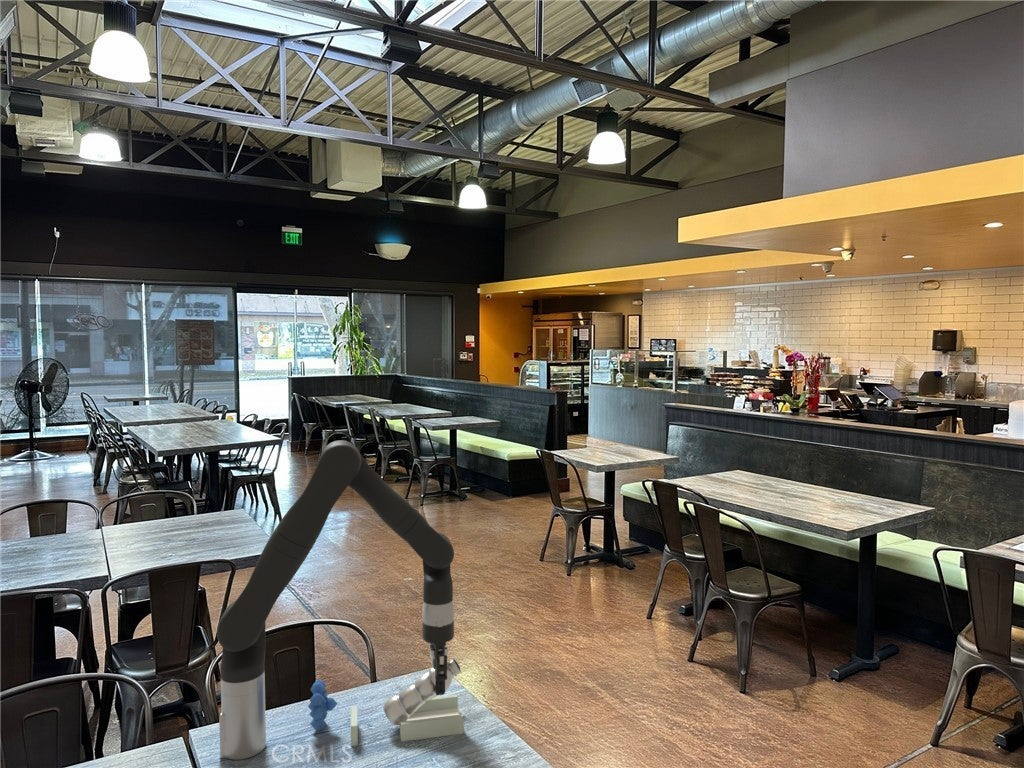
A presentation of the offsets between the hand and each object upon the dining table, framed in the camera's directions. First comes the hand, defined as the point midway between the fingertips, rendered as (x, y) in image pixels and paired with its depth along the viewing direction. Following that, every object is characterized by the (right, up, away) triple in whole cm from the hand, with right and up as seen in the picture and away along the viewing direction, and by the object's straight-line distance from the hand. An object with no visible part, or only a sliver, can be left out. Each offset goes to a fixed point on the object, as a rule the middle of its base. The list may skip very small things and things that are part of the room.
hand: (438, 687), depth 163 cm
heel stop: (-19, -9, -4) cm, 22 cm away
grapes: (-27, -10, -2) cm, 29 cm away
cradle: (-1, -9, 0) cm, 9 cm away
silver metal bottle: (-12, -6, -2) cm, 14 cm away
